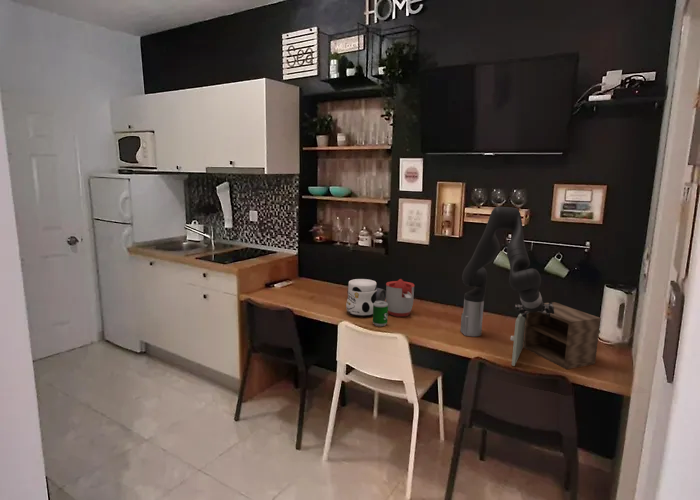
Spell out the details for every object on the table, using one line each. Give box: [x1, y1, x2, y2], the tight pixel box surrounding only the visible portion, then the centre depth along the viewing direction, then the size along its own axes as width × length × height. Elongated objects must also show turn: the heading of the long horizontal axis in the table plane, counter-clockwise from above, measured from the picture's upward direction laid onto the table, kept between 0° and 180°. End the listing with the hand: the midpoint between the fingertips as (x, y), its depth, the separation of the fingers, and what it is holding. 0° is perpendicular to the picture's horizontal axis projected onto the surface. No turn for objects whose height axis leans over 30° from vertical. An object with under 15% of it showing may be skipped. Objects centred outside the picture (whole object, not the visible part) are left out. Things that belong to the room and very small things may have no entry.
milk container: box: [345, 278, 378, 317], centre depth 242 cm, size 17×17×18 cm
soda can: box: [372, 300, 389, 327], centre depth 225 cm, size 8×8×12 cm
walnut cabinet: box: [522, 301, 602, 370], centre depth 190 cm, size 16×24×20 cm, turn 21°
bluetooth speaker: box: [347, 287, 386, 301], centre depth 265 cm, size 23×9×10 cm, turn 55°
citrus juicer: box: [385, 278, 416, 318], centre depth 242 cm, size 16×17×20 cm
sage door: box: [510, 314, 526, 367], centre depth 188 cm, size 3×24×19 cm, turn 151°
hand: (536, 315), depth 182 cm, fingers open, 8 cm apart
